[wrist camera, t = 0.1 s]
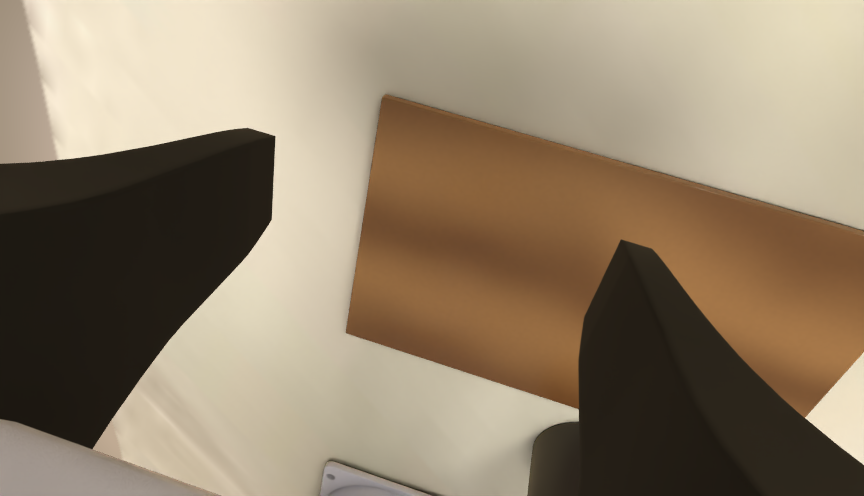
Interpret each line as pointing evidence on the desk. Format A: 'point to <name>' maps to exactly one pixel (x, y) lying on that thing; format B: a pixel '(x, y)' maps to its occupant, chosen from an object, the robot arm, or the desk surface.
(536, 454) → the thermos cap
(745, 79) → the desk surface
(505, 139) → the brown wooden board
